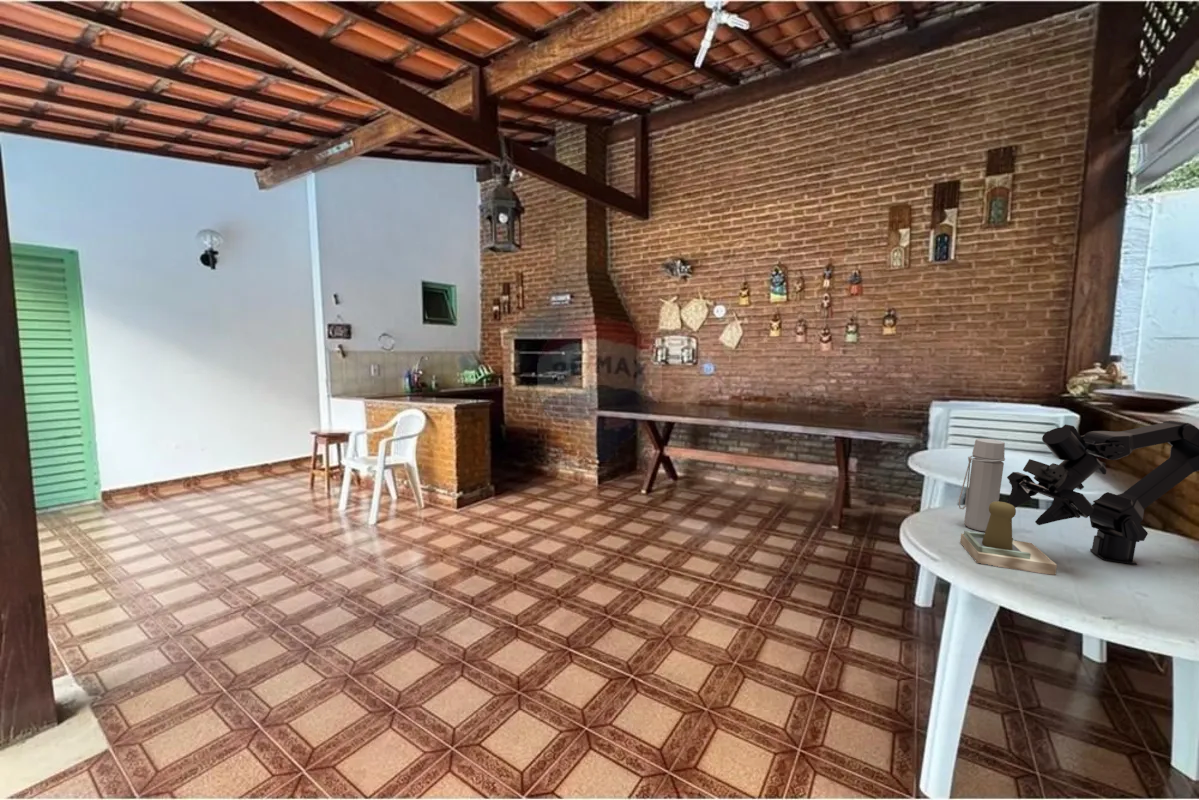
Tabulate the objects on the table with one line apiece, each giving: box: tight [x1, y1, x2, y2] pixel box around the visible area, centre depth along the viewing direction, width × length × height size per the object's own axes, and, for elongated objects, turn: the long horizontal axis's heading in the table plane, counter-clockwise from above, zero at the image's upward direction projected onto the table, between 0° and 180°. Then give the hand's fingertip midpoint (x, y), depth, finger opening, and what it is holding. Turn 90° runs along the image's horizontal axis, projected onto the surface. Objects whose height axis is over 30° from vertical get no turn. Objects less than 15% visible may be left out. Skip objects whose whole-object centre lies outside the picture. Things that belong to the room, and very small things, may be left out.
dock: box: [959, 530, 1058, 576], centre depth 126 cm, size 15×13×4 cm
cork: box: [982, 501, 1017, 550], centre depth 125 cm, size 6×6×11 cm
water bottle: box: [958, 438, 1006, 533], centre depth 144 cm, size 9×8×25 cm
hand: (1020, 516), depth 125 cm, fingers open, 9 cm apart
